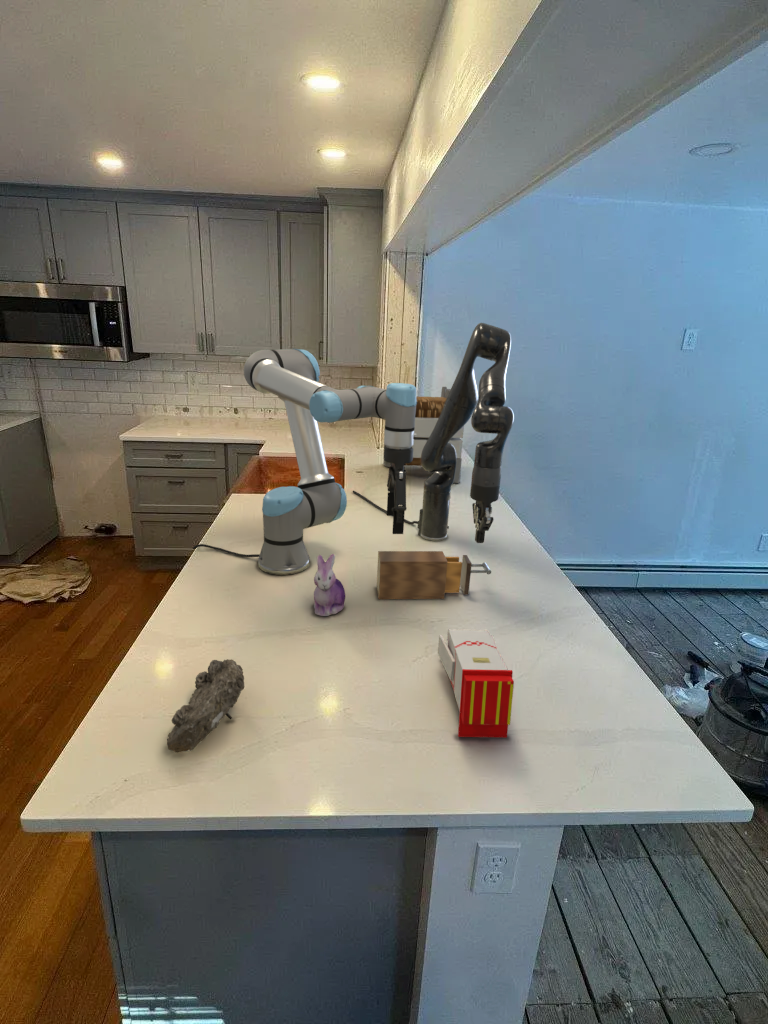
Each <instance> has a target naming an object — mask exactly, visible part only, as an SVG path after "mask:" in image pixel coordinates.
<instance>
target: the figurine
mask: <svg viewBox="0 0 768 1024" xmlns="http://www.w3.org/2000/svg"><path fill="white" fill-rule="evenodd" d="M335 559H336V555H335V554H334V553H331V554H330V555H329V557H328V558H327V559H326V561H325V559H324V557H323V556H322V554H319V555H317V557H316V566H317V570H316V572H315V574H314V577H313V582H314V585H315V586H316V587H315V589H314V591H313V601H314V604H313V609H314V614H315V615H316V616H321V617H328V616H331V615H337V614H338V613H340V612H341V611H342V610H343V609H344V608H345V604H346V603H345V601H346V590H345V586H344V585H343V583H342V581H340V580H339V579H338V578H337V577H336V574H335V572H334V570H333V568H334V563H335Z"/></svg>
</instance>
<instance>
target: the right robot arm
mask: <svg viewBox="0 0 768 1024" xmlns="http://www.w3.org/2000/svg"><path fill="white" fill-rule="evenodd" d="M467 343H468V344H467V347H466V349H465V353H464V354H463V358H462V361H461V364H460V367H459V370H458V372H457V374H456V377H455V379H454V381H453V382H452V383H453V384H452V385H451V387H450V392H449V394H448V397H447V399H446V401H445V404H444V407H443V409H442V412H441V414H440V416H439V418H438V421H437V423H436V425H435V427H434V429H433V431H432V433H431V435H430V437H429V438H428V440H427V442H426V444H425V446H424V448H423V450H422V453H421V465H422V466H421V467H422V469H423V470H424V471H426V472H428V473H432V474H431V475H430V476H429V477H427V478H426V479H425V480H424V482H423V493H422V496H423V497H422V506H421V508H420V509H419V516H418V520H412V521H410V520H407V519H405V518H404V523H406V524H408V525H411V526H412V525H415V524H416V525H417V527H416V528H417V535H418V536H420V538H421V539H424V540H426V541H432V542H440V541H444V540H446V539H447V538H448V530H449V529H450V526H449V517H450V516H449V514H450V504H451V494H452V493H451V491H452V486H453V484H454V483H453V482H454V476H455V469H456V461H457V455H456V450H455V448H454V446H453V445H452V444H450V443H448V442H449V440H450V439H451V438H452V437H453V436H454V435H455V434H456V433H457V432H458V431H459V430H460V429H461V428H462V427H463V426H464V427H465V425H466V424H467V423H468V422H469V420H470V419H471V420H470V424H471V427H472V429H473V430H474V431H475V432H477V433H479V434H492V435H493V434H494V435H496V436H495V437H494V438H493V439H489V440H484V441H480V442H478V443H476V446H475V451H474V460H473V461H474V462H473V468H472V471H471V480H470V481H471V482H470V491H469V492H470V493H469V498H470V499H472V500H473V501H475V502H473V503H472V504H471V505H472V517H473V524H474V527H475V534H474V535H475V536H474V541H475V542H476V544H483V543H485V536H486V532H488V531H489V530H490V528H491V526H492V524H493V522H494V520H495V519H494V517H493V516H491V515H492V513H493V506H492V504H493V503H495V502H497V501H498V500H499V499H500V487H501V481H502V480H501V479H502V464H503V463H502V461H503V455H504V449H505V445H506V442H507V439H508V438H509V435H510V432H511V430H512V428H513V425H514V422H515V414H514V411H513V409H512V408H511V407H509V406H506V405H505V404H506V402H507V401H506V400H507V393H506V391H507V390H506V377H507V370H508V365H509V360H510V354H511V353H510V352H511V348H512V335H511V332H509V331H508V330H506V329H504V328H502V327H501V328H500V327H497V326H495V325H492V324H489V323H485V322H479V323H477V324H476V326H475V327H474V329H473V330H472V333H471V335H470V338H469V341H468V342H467ZM477 358H482V359H485V360H488V361H492V362H494V363H493V364H492V365H491V366H490V367H489V368H487V369H486V370H485V371H484V372H483V374H481V377H480V378H479V383H478V386H477V382H476V376H475V363H476V360H477ZM352 493H353V494H355V495H357V496H359V497H360V498H361V499H363V500H364V501H366V502H368V503H369V504H370V505H371V506H373V507H375V508H377V509H378V510H380V511H382V512H384V513H385V514H387V509H384V508H383V507H381V506H379V505H378V504H376V503H374V502H373V501H371V500H369V498H367V497H366V496H364V495H363V494H361V493H360V492H358V491H356V490H352Z"/></svg>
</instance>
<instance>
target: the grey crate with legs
mask: <svg viewBox="0 0 768 1024" xmlns="http://www.w3.org/2000/svg"><path fill="white" fill-rule="evenodd" d="M450 390H451V388H447V386H442V387H441V392H440V393H441V394H440V396H417V395H416V398H417V405H416V413H415V429H414V433H416V437H413V439H414V444H413V446H411V447H412V448H413V460H412V462H411V463H408V464H407V463H406V464H404V466H406V467H407V466H411V467H412V466H413V467H415V466H416V467H417V466H418V467H422V465H421V453H422V450H423V448H424V446H425V444H426V442H427V440H428V438H429V437H430V435H431V433H432V431H433V429H434V427H435V425H436V423H437V421H438V418H439V416H440V414H441V412H442V409H443V407H444V404H445V401H446V399H447V397H448V394H449V392H450ZM464 429H465V425H464V426H463V427H462V428H461V429H460V430H459V431H458V432H457V433H456V434H455V435H454V436H453V437H452V438H451V439H450V440H449V442H448V443H450V444H452V445H453V446H454V448H455V450H456V455H457V461H456V469H455V476H454V482H453V484H455V483H456V484H459V483H461V472H462V461H463V460H462V453H463V442H464V441H463V440H462V439H463V438H464V431H465V430H464ZM385 446H386V445H385V444H384V443H383V448H384V447H385ZM383 466H384V467H388V468H389V467H390V463H388V462H386V461H385V460H384V459H383Z"/></svg>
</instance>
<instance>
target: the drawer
mask: <svg viewBox="0 0 768 1024" xmlns="http://www.w3.org/2000/svg"><path fill="white" fill-rule="evenodd" d="M445 557H446V559H447V561H448V562H447V573H446V584H445V594H446V593H447V594H448V593H450V594H451V593H452V594H455V593H458V594H459V593H460V589H461V590H462V593H463V595H465V596H466V595H467V596H468V595H469V593H470V582H471V574H487V575H491V574H492V570H491V568H490V567H489V564H488V563H486V562H482V563H472V561H471V560H470V558H469V556H468V554H463V555H462V557H461V558H462V559H461V561H460V556H445ZM481 567H482V568H483V569H472V568H481Z"/></svg>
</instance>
